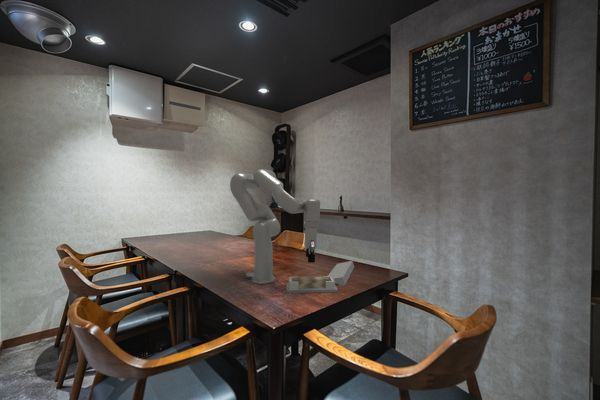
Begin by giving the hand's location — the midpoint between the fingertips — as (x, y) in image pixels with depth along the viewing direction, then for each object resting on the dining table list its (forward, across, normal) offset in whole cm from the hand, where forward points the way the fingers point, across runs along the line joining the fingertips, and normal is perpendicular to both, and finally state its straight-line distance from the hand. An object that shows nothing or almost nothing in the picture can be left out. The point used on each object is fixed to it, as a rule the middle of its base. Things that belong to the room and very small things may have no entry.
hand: (310, 259), depth 127 cm
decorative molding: (+14, -20, +20) cm, 32 cm away
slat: (+13, 0, +1) cm, 13 cm away
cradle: (+14, +1, +1) cm, 14 cm away
